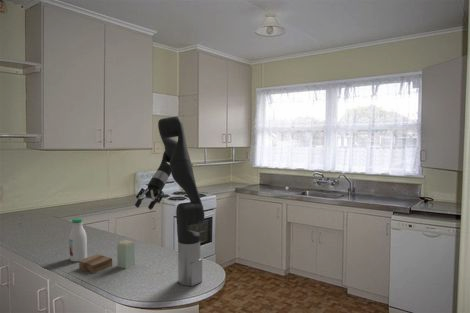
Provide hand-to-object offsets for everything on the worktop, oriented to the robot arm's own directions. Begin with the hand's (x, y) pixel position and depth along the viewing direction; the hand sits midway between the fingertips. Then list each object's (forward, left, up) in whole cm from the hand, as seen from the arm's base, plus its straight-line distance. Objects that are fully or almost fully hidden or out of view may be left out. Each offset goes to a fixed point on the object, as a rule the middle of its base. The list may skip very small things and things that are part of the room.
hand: (142, 207), depth 172 cm
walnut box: (+7, +21, -25) cm, 34 cm away
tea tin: (-2, +11, -25) cm, 28 cm away
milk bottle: (+23, +21, -25) cm, 40 cm away
